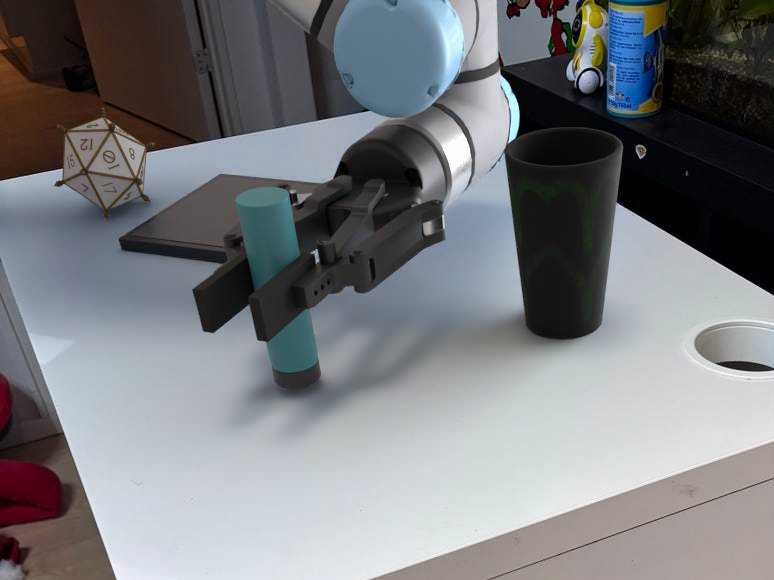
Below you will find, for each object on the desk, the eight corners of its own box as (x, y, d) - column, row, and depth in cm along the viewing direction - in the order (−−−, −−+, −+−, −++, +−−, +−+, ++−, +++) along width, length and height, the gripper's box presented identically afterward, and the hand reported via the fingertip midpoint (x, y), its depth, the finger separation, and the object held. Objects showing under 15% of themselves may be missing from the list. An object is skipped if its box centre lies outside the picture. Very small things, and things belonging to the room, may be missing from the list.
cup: (627, 302, 76) (635, 129, 67) (602, 351, 70) (607, 170, 62) (528, 292, 78) (523, 124, 69) (497, 339, 73) (488, 163, 64)
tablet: (121, 249, 89) (117, 237, 88) (222, 183, 99) (220, 172, 98) (267, 268, 84) (265, 256, 83) (358, 197, 94) (356, 185, 94)
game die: (128, 239, 100) (125, 132, 99) (174, 223, 94) (172, 109, 93) (37, 218, 93) (33, 103, 92) (81, 199, 88) (77, 77, 87)
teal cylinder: (265, 385, 68) (224, 203, 60) (289, 362, 71) (253, 184, 62) (306, 392, 67) (270, 208, 59) (329, 369, 70) (298, 189, 61)
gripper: (506, 238, 76) (359, 393, 61) (316, 216, 81) (137, 354, 66) (502, 130, 71) (340, 270, 55) (300, 114, 76) (101, 238, 61)
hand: (230, 315), depth 61 cm, fingers closed on teal cylinder, 3 cm apart
